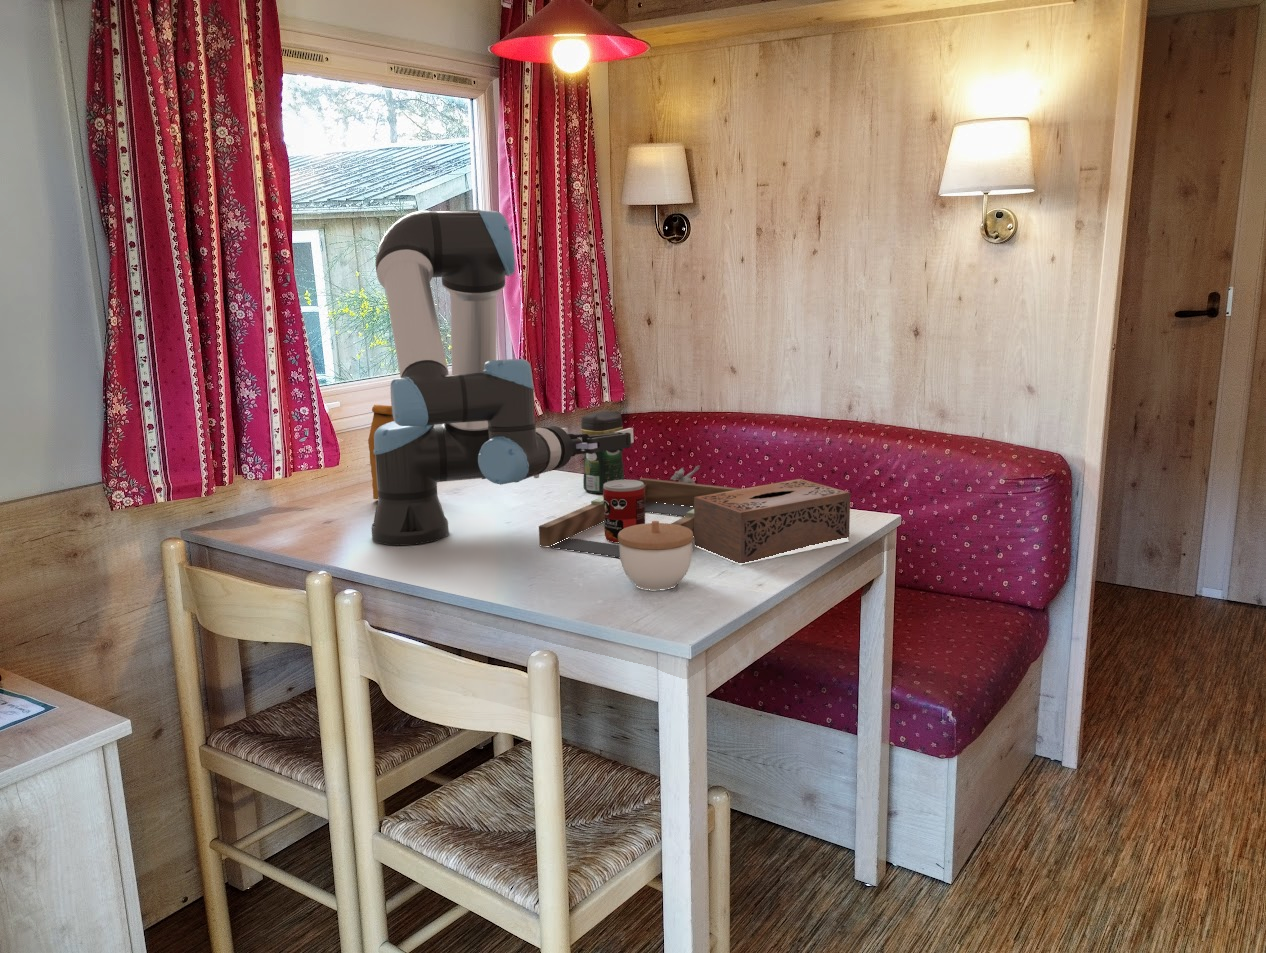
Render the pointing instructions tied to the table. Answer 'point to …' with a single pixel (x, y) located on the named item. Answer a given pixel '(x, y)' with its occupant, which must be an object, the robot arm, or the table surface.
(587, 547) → the near trap pad
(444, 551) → the table surface
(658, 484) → the lane box
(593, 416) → the coffee jar
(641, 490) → the canned food
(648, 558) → the lidded bowl
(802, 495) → the tissue box cover
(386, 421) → the coffee package
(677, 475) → the grey toy figurine
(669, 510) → the pad
